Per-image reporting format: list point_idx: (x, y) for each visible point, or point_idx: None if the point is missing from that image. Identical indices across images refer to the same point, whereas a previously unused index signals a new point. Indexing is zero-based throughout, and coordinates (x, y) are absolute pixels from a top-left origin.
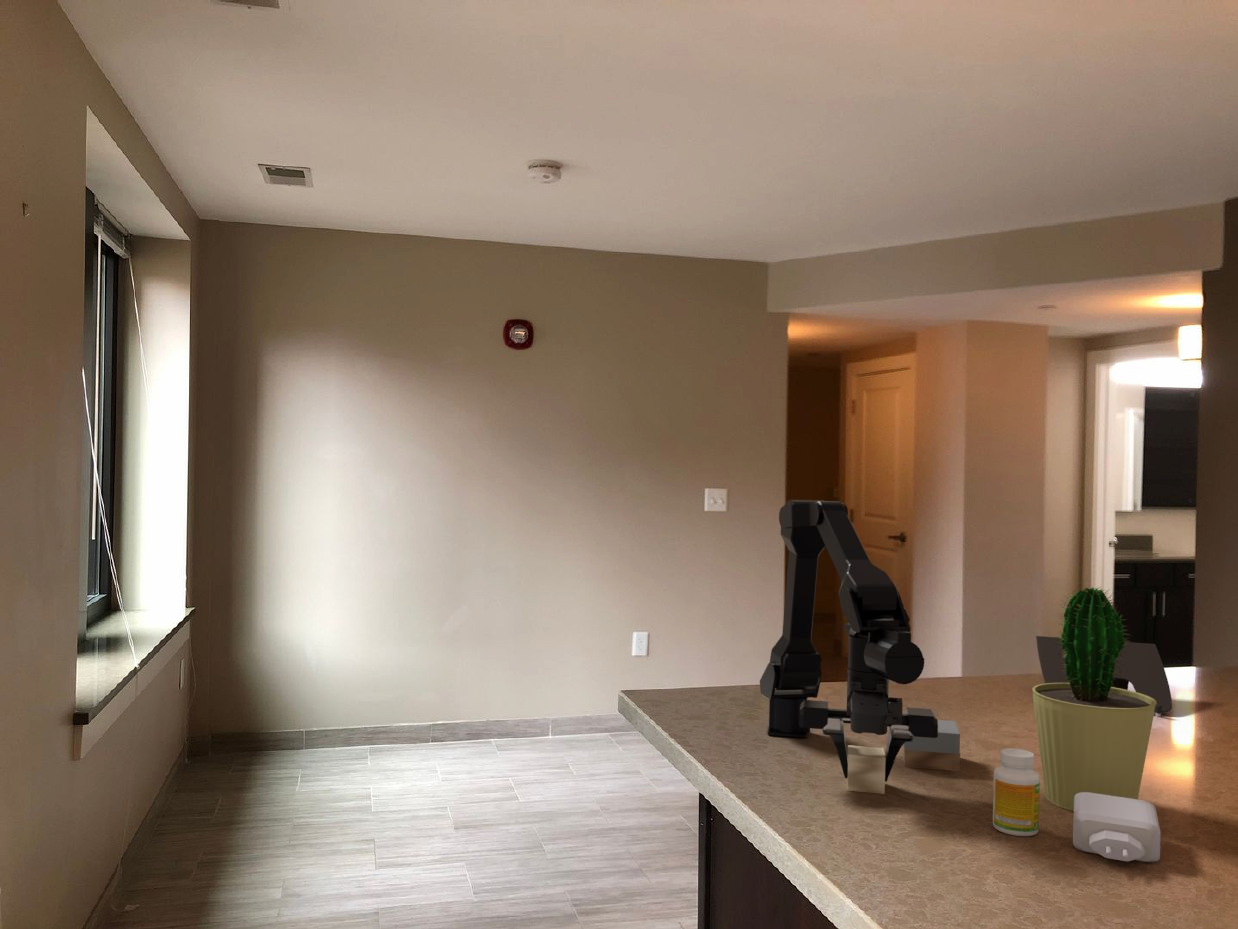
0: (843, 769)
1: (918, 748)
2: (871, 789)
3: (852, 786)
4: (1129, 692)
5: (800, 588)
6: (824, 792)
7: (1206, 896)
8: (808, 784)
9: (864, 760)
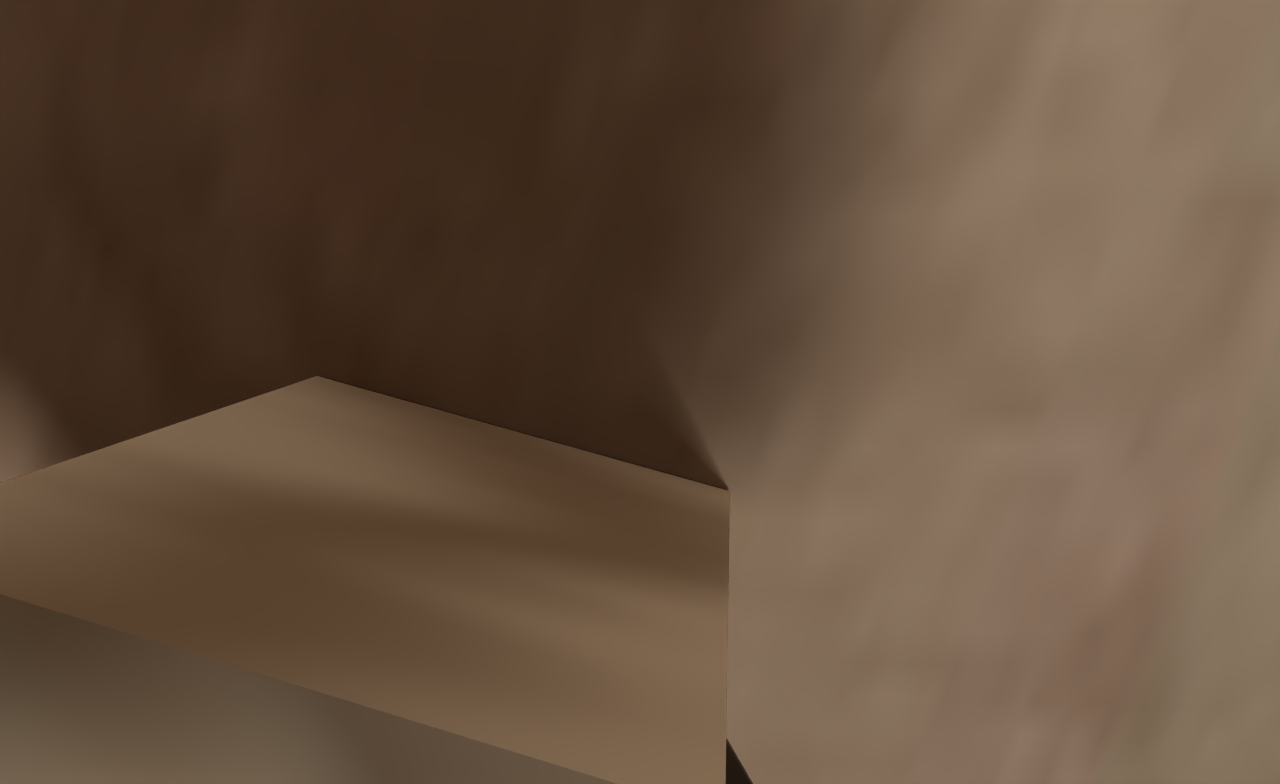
0: (740, 781)
1: None
2: (444, 425)
3: (669, 491)
4: None
5: None
6: (1055, 433)
7: None
8: (1159, 728)
9: (367, 631)
